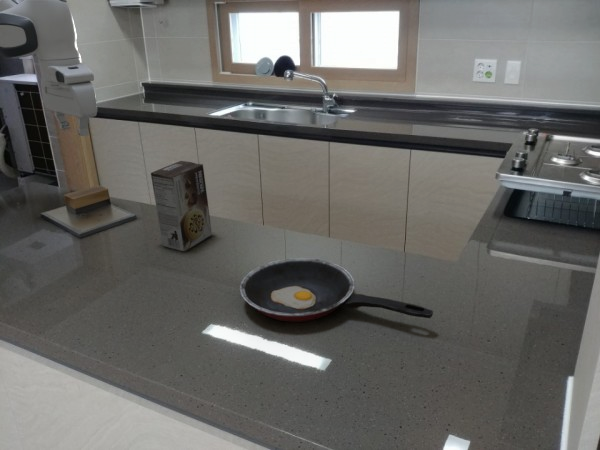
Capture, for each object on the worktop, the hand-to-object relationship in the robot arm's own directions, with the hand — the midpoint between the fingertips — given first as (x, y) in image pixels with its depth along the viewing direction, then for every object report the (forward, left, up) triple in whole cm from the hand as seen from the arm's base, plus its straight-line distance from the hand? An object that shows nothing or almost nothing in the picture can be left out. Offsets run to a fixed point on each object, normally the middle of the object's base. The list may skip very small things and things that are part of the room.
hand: (74, 132), depth 126 cm
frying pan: (+76, +3, -20) cm, 79 cm away
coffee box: (+35, +4, -20) cm, 40 cm away
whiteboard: (+5, -3, -19) cm, 20 cm away
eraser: (+1, -1, -18) cm, 18 cm away
